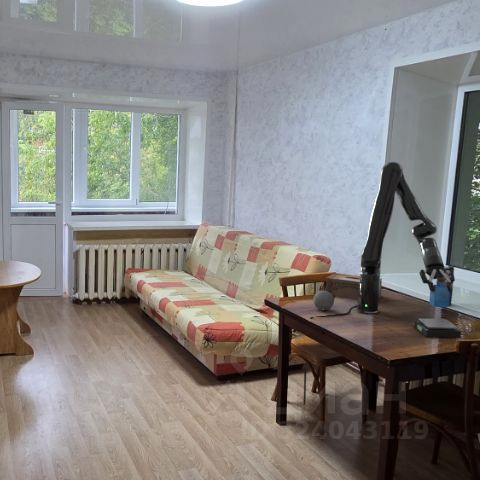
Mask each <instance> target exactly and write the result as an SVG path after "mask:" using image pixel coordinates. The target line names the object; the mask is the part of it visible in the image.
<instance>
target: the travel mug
mask: <svg viewBox="0 0 480 480" xmlns="http://www.w3.org/2000/svg"><path fill="white" fill-rule="evenodd" d="M444 268H445V269H446V270H449V271H450V270H453V273H454V274H455V267H454V266H453V265H452V266H451V265H448V266H445V265H444ZM445 274H446V275H447V273H445ZM447 276H448V275H447ZM443 278H444V277H443ZM448 278H449V276H448ZM435 285H437V283H436V284H435ZM444 285H445V286H446V283H445V284H444ZM451 285H452V290H451V291H450V302H449V307H450V306H451V305H452V300H453V291H454V283H453V284H451Z"/></svg>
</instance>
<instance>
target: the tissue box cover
mask: <svg viewBox="0 0 480 480" xmlns="http://www.w3.org/2000/svg"><path fill="white" fill-rule="evenodd" d="M325 279H326V283H325V286H326V287H325V291H327V292H329V293H331V294H332V296H333V297H336V298H337V297H338V298H343V299H350V300H357V301H358V292H359V291H360V275H357V274H347V273H340V272H334V273H333V274H330V275H329V276H326V278H325ZM382 283H383V278H380V289H379V298H381V297H382Z"/></svg>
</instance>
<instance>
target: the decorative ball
mask: <svg viewBox="0 0 480 480" xmlns="http://www.w3.org/2000/svg"><path fill="white" fill-rule="evenodd" d="M312 300H313V305H314V306H315V307H316V309H318V310H320V311H322V310H321V309H324V310H323V311H328V310H330V309H331V308H332V307H333V306H334V305H335V304H334V303H335V299H334V296H332V294H331V293H329V292H327V291H326V290H320V291H318V292H316V293H315V294H314V295H313V299H312ZM327 309H328V310H327Z"/></svg>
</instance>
